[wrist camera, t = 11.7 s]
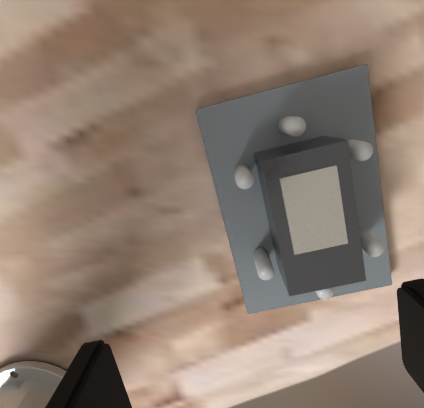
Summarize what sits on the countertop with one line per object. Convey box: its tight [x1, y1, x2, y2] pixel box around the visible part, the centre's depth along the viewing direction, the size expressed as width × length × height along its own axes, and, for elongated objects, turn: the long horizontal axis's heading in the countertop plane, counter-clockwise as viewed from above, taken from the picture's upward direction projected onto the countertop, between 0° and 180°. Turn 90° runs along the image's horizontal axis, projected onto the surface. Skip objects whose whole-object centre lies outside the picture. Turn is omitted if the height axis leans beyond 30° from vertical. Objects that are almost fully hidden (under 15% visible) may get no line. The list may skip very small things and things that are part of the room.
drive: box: [254, 136, 366, 296], centre depth 25 cm, size 11×6×5 cm, turn 14°
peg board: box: [196, 64, 392, 314], centre depth 27 cm, size 20×14×5 cm
